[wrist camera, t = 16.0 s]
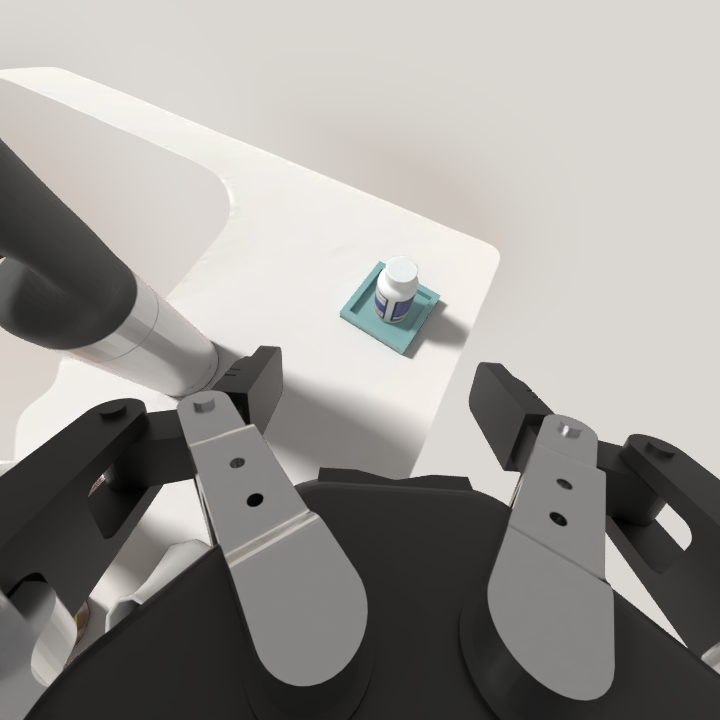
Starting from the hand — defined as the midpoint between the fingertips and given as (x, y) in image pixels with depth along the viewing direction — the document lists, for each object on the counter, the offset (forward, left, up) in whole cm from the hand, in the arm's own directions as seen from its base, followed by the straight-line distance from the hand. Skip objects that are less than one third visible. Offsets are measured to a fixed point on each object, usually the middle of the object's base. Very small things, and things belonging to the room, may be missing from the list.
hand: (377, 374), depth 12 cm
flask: (-7, -23, -29) cm, 38 cm away
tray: (-6, +19, -29) cm, 35 cm away
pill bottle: (-6, +19, -28) cm, 35 cm away
